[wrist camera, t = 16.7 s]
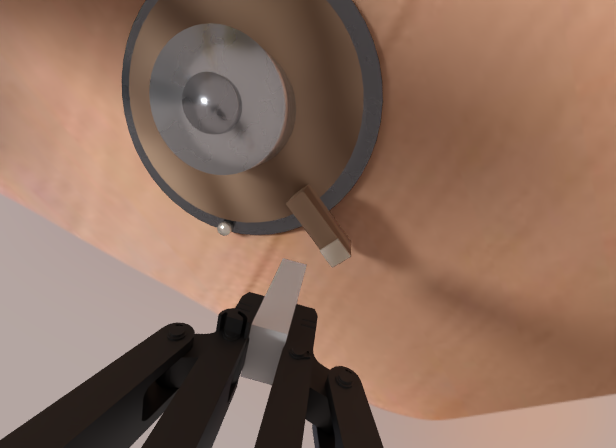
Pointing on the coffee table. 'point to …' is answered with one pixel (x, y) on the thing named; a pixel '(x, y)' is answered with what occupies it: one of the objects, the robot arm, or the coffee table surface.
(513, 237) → the coffee table surface
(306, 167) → the platter
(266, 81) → the cover
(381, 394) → the coffee table surface
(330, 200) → the susan base
